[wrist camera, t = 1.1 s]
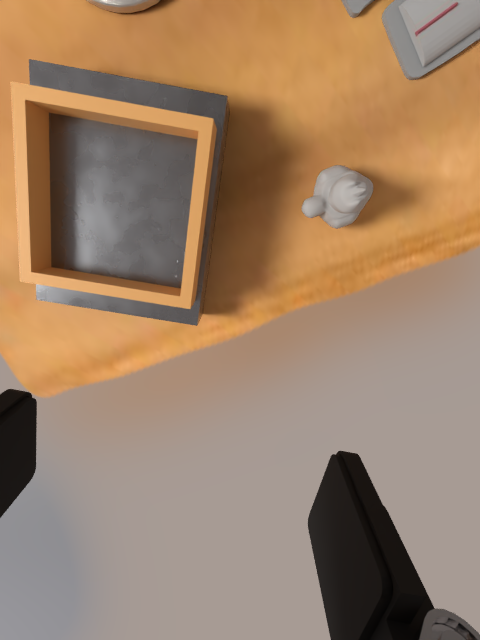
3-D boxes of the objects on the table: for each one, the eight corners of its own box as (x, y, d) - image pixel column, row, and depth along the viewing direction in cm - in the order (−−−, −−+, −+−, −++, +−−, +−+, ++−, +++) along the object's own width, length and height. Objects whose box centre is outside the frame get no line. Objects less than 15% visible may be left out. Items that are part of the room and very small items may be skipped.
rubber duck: (367, 214, 32) (405, 213, 25) (304, 237, 33) (322, 243, 25) (354, 159, 31) (390, 139, 23) (289, 184, 31) (303, 173, 24)
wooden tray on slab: (57, 80, 29) (1, 38, 22) (229, 111, 30) (225, 80, 23) (59, 291, 35) (15, 307, 28) (202, 314, 36) (192, 336, 29)
